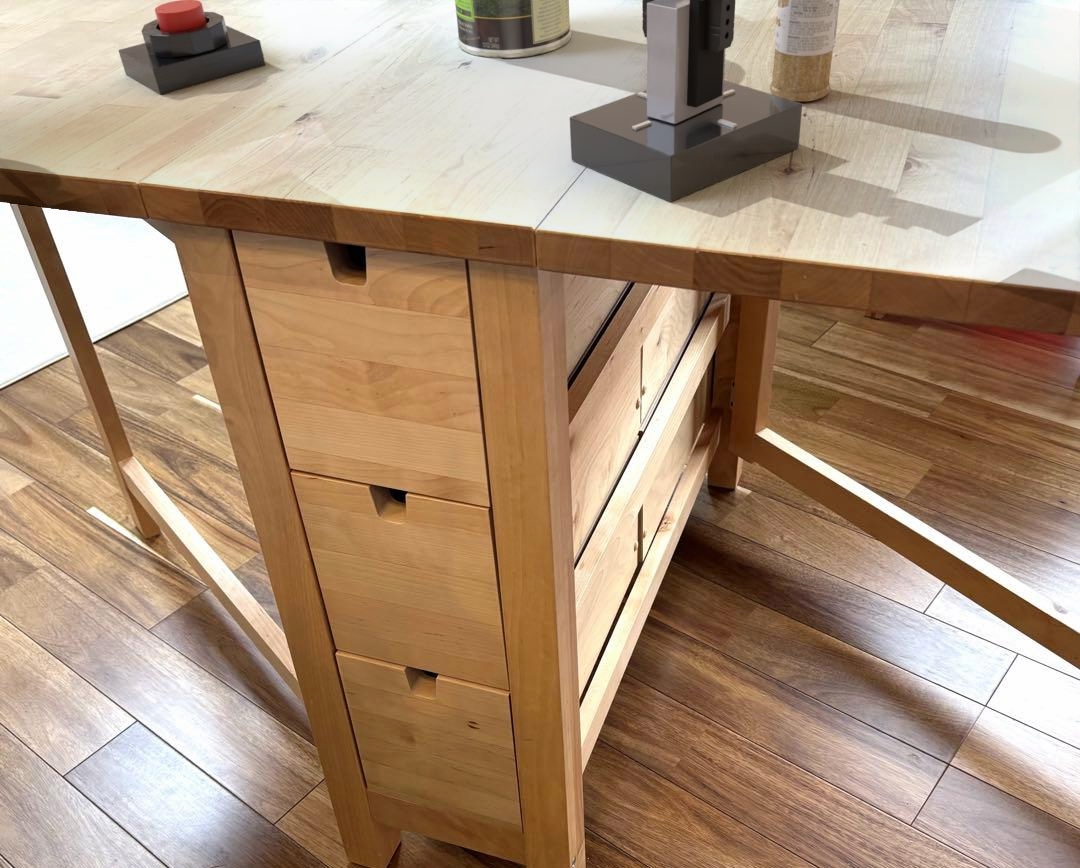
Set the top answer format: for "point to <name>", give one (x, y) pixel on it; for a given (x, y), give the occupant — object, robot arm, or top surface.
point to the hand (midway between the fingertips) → (685, 94)
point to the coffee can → (512, 27)
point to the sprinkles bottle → (804, 48)
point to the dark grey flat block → (685, 140)
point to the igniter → (190, 55)
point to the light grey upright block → (670, 62)
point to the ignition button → (180, 15)
